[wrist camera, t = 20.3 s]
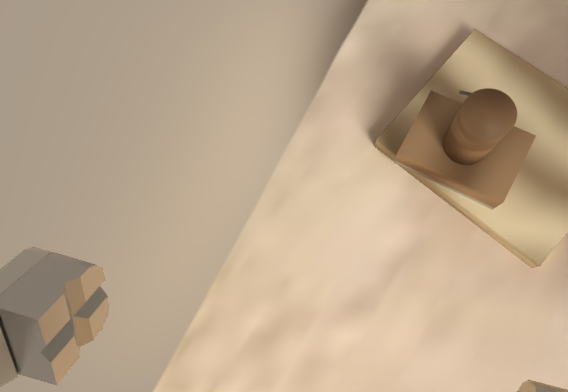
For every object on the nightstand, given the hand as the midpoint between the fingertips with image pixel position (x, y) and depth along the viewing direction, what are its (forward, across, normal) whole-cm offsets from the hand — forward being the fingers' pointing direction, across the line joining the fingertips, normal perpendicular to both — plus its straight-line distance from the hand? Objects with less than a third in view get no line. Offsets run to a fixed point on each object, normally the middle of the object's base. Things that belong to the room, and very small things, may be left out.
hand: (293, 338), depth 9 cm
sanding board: (+31, -10, +8) cm, 33 cm away
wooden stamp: (+28, -7, +8) cm, 30 cm away
